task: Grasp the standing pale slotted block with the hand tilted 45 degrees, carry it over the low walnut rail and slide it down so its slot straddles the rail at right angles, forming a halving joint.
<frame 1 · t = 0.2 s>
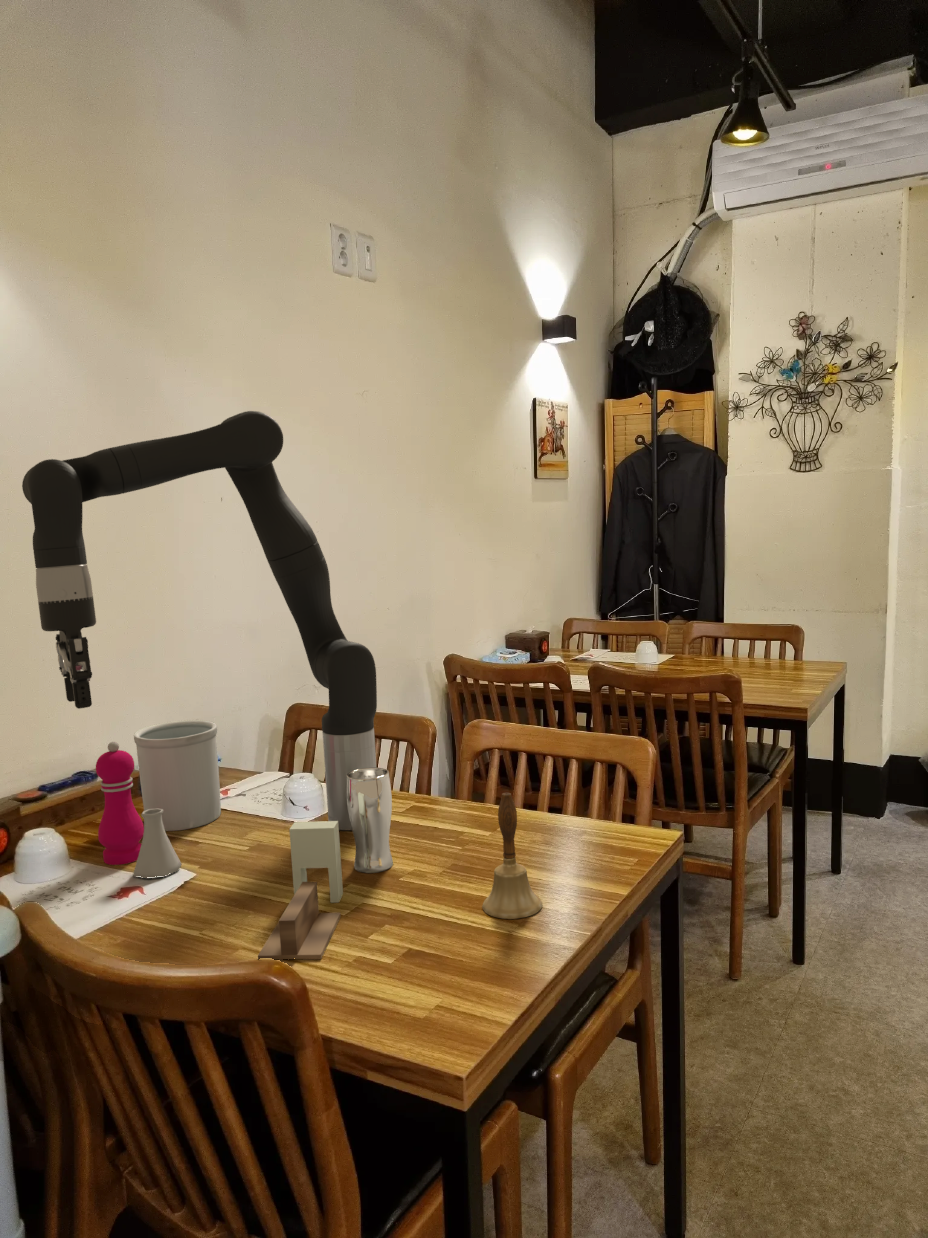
hand: (79, 704, 134), 29 cm above the table, tool pointing down, fingers open, 8 cm apart
pepper mill: (123, 859, 150), on the table
beer glass: (373, 867, 141), on the table
pale slotted block: (319, 898, 129), on the table
utensil holder: (183, 820, 169), on the table
walnut rail: (301, 937, 117), on the table
flask: (157, 873, 143), on the table
hand bell: (512, 908, 123), on the table
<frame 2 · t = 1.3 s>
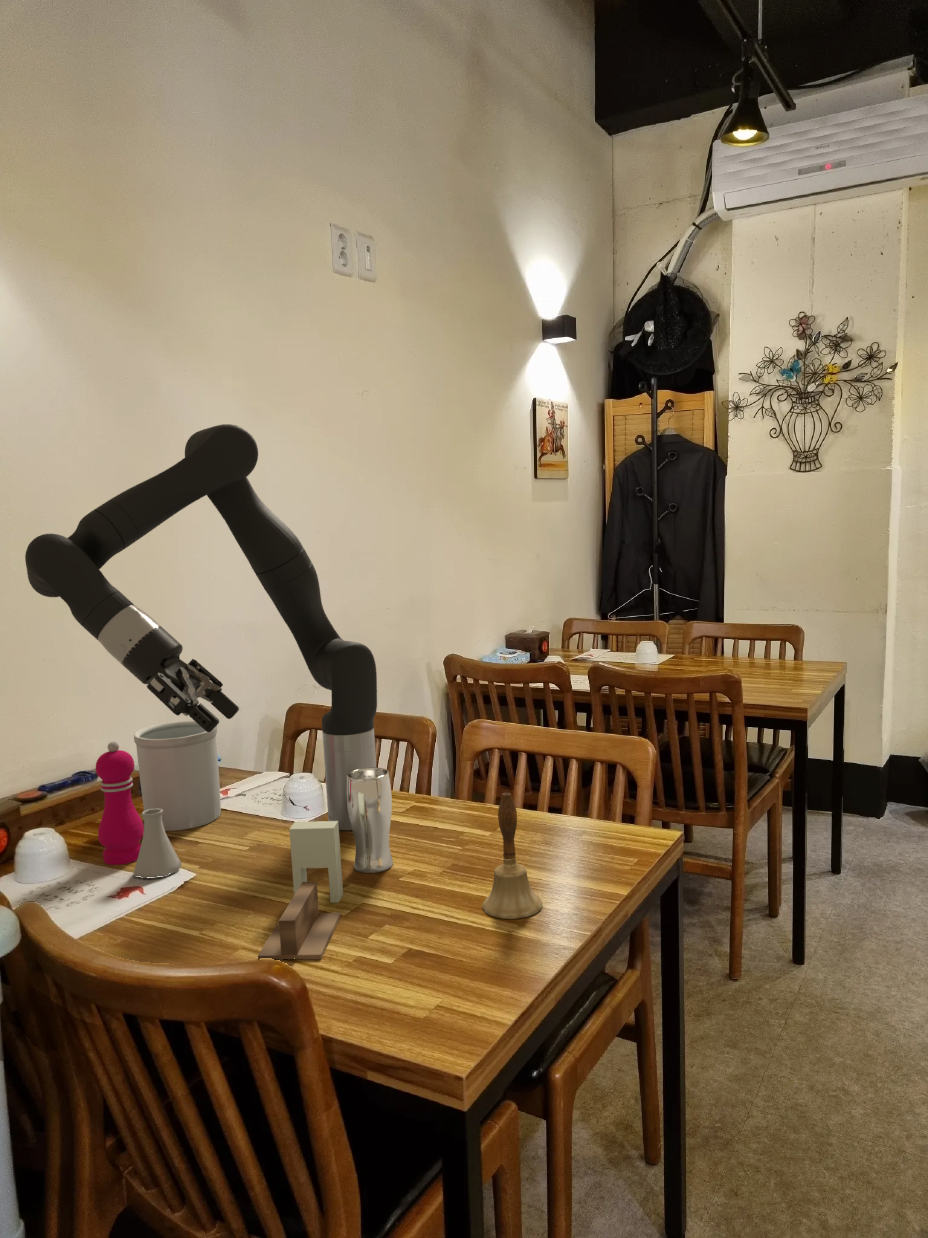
hand: (225, 720, 127), 27 cm above the table, tool tilted 45°, fingers open, 8 cm apart
nothing on the table moved.
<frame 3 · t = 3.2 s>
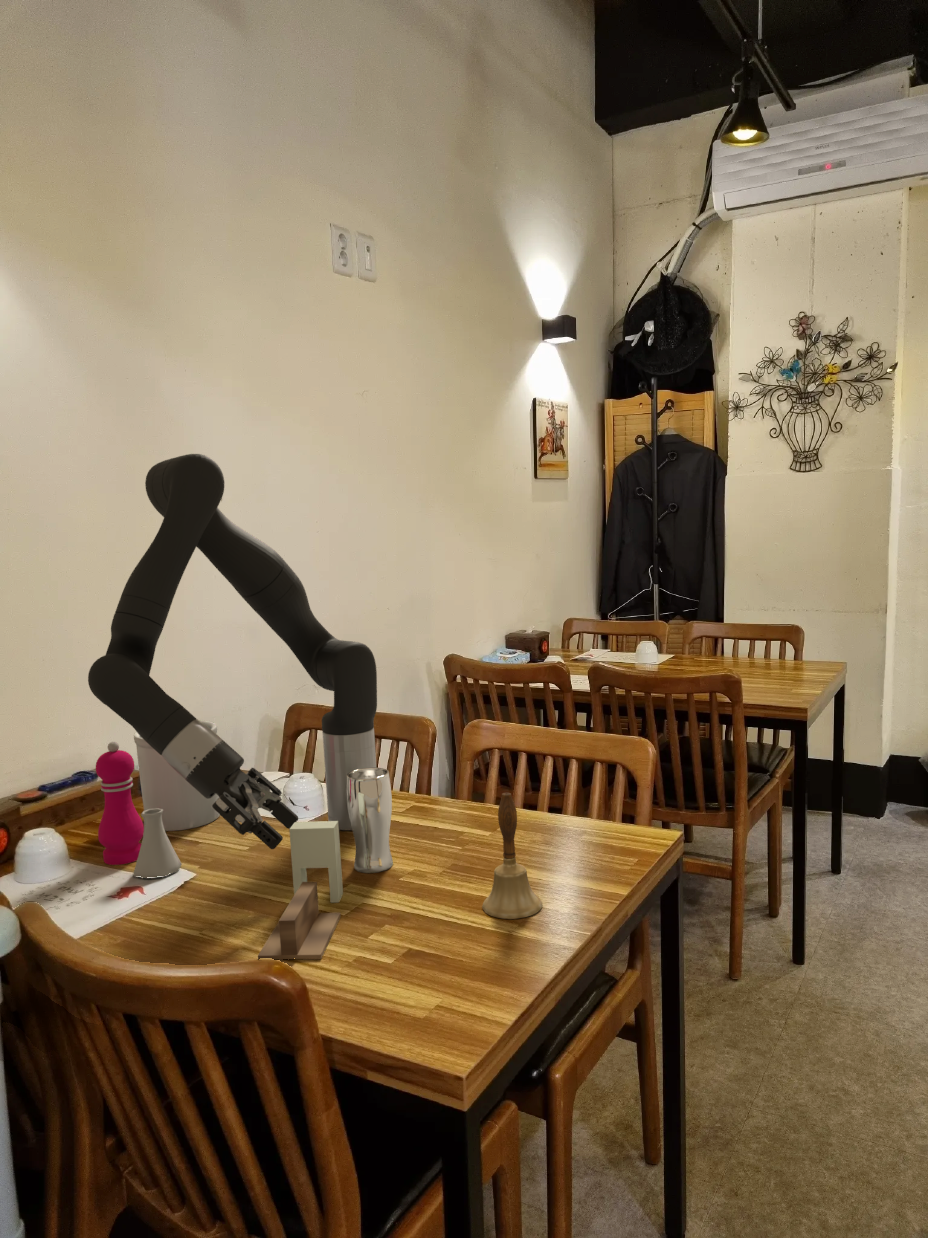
hand: (286, 833, 128), 10 cm above the table, tool tilted 45°, fingers open, 8 cm apart
nothing on the table moved.
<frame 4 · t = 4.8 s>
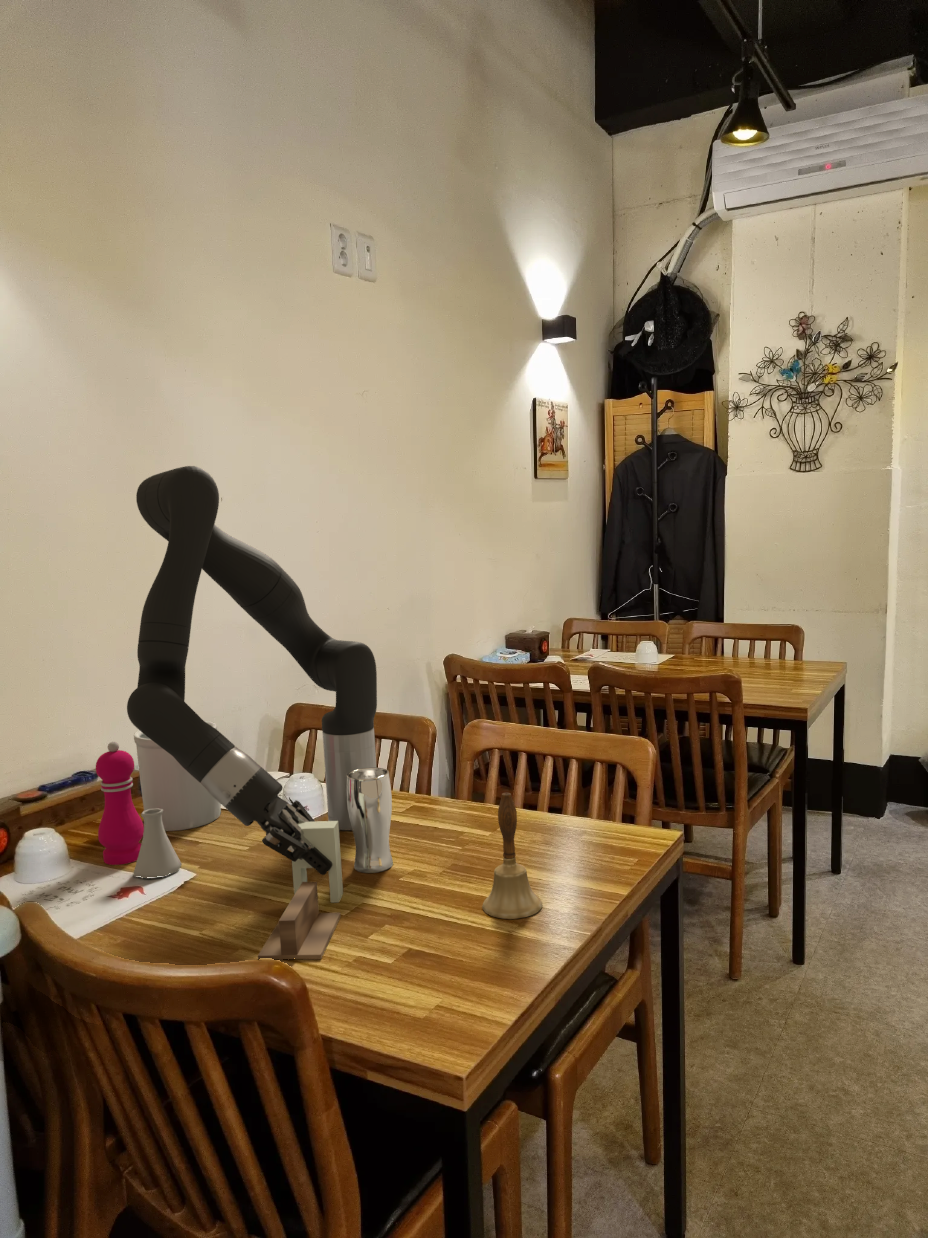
hand: (330, 865, 129), 5 cm above the table, tool tilted 45°, fingers closed on pale slotted block, 3 cm apart
pale slotted block: (319, 898, 129), on the table, touching gripper
everything else where it was.
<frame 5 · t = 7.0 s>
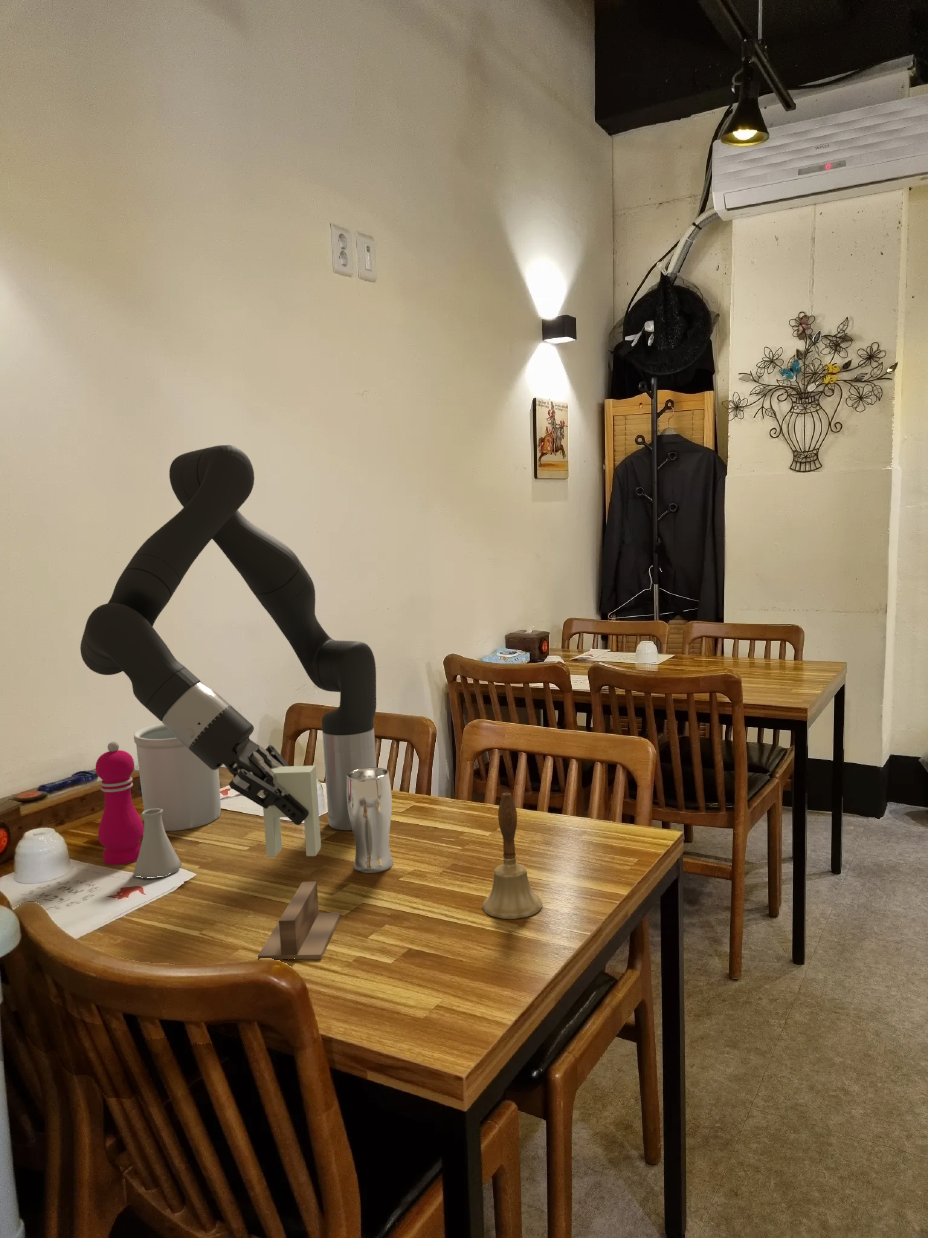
hand: (307, 814, 115), 17 cm above the table, tool tilted 45°, fingers closed on pale slotted block, 3 cm apart
pale slotted block: (294, 852, 116), point 12 cm above the table, touching gripper
everything else where it was.
when the fingers open (6 cm above the table, at t = 9.5 s): pale slotted block stays where it is, resting on walnut rail.
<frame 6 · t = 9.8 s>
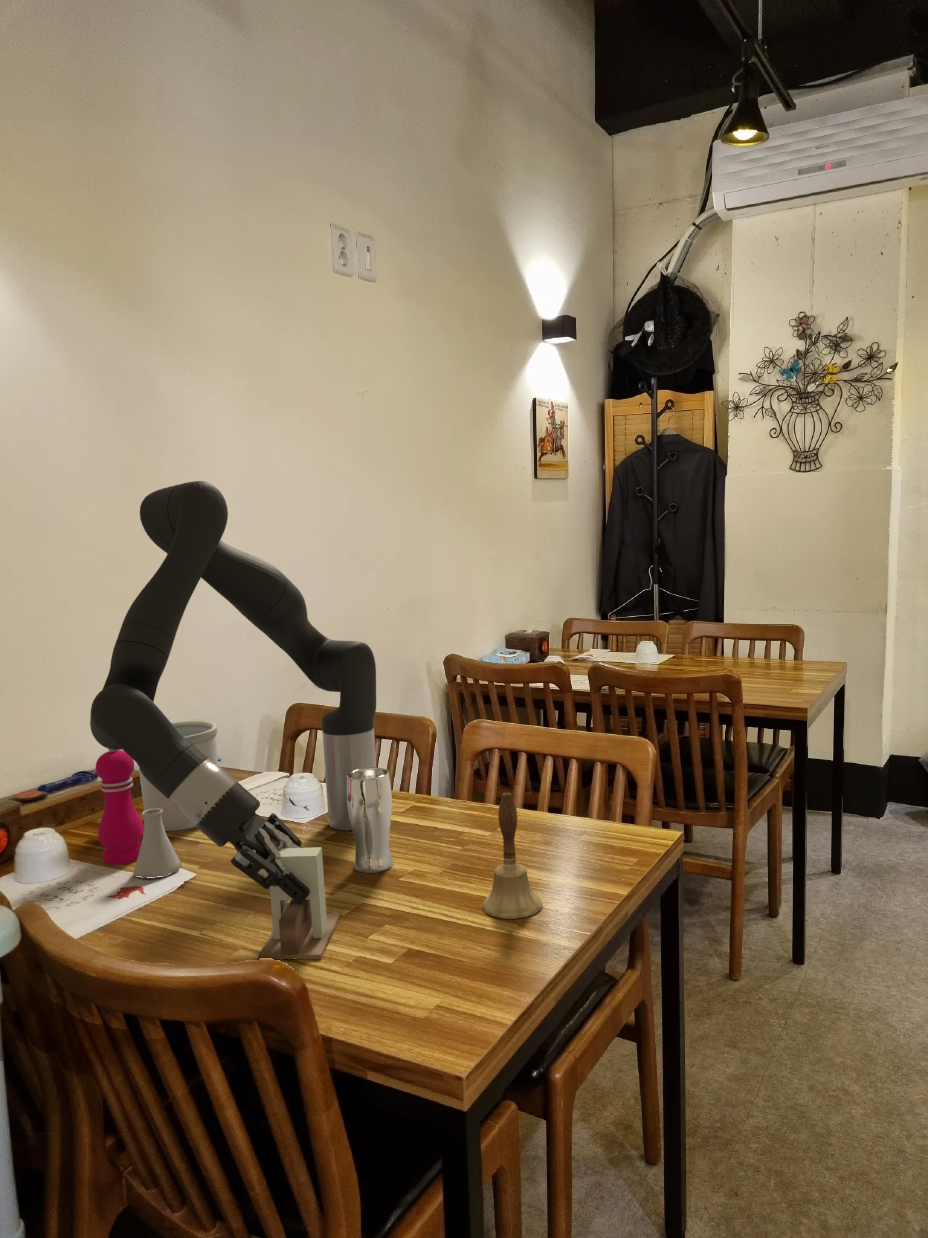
hand: (311, 888, 116), 7 cm above the table, tool tilted 45°, fingers open, 5 cm apart
pale slotted block: (300, 933, 117), point 1 cm above the table, touching walnut rail
everything else where it was.
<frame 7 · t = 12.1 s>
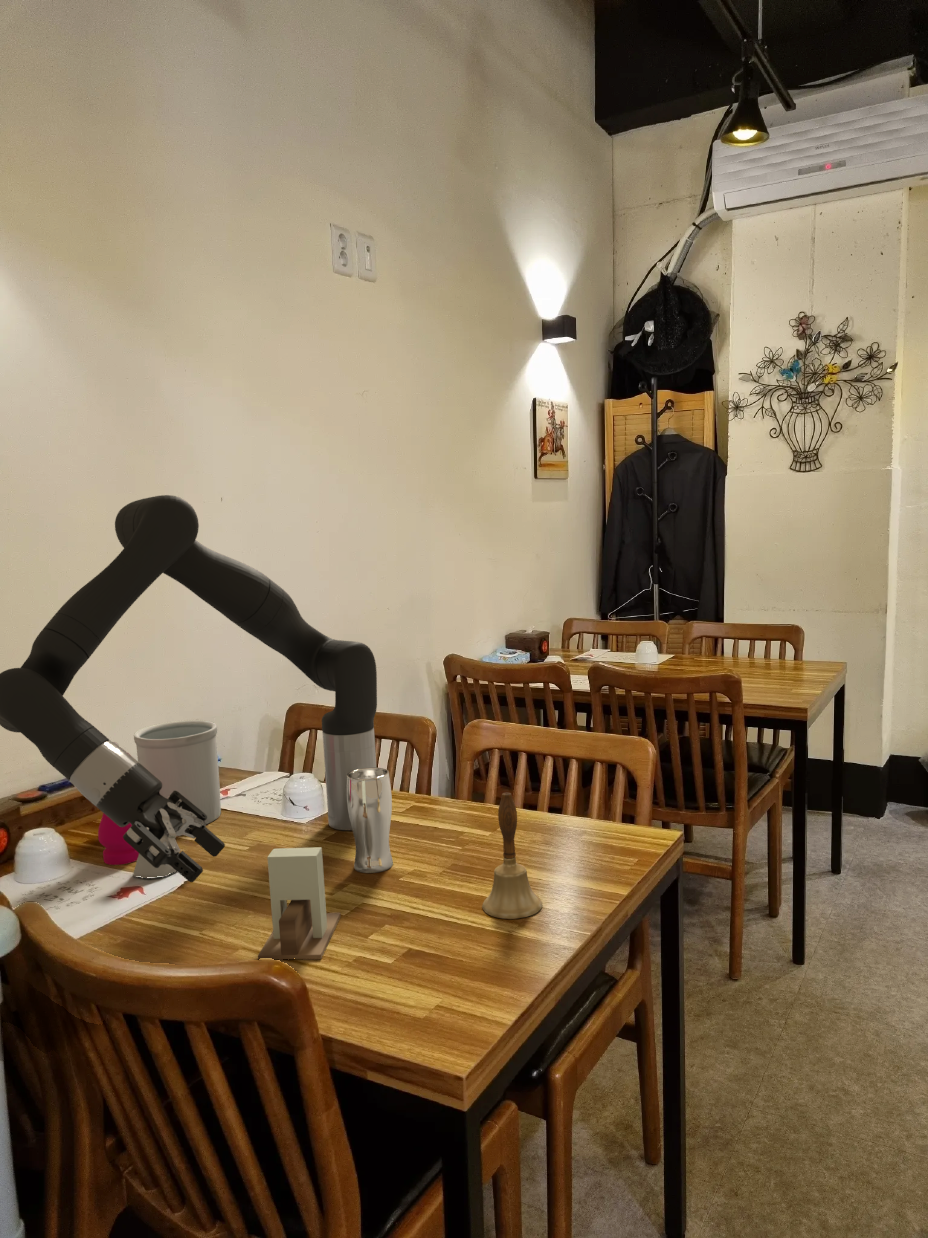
hand: (209, 863, 118), 10 cm above the table, tool tilted 45°, fingers open, 8 cm apart
nothing on the table moved.
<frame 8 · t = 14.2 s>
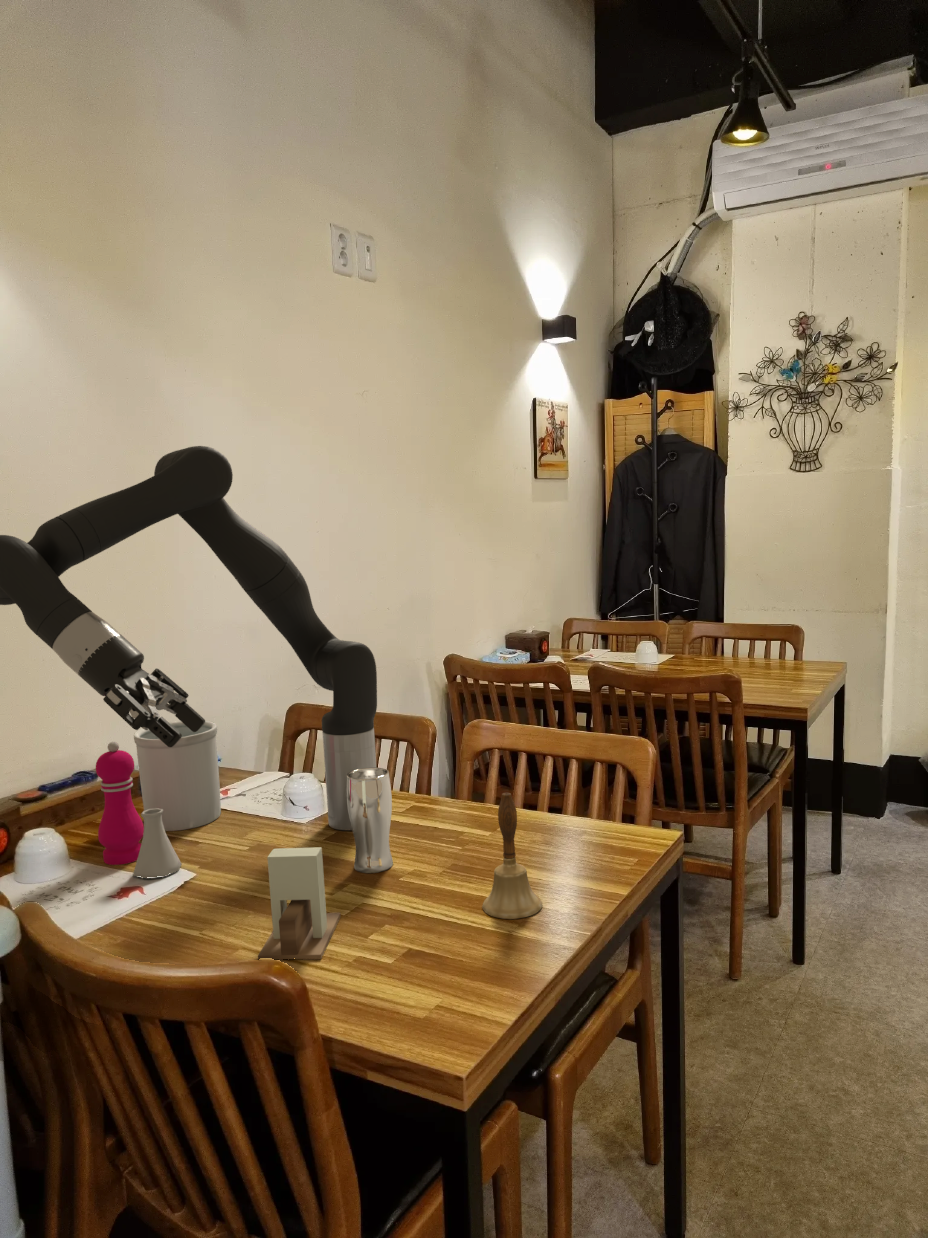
hand: (189, 734, 120), 27 cm above the table, tool tilted 45°, fingers open, 8 cm apart
nothing on the table moved.
at the end: pale slotted block 0.0 cm off-centre on the walnut rail, point 0.6 cm above the walnut rail's base; pale slotted block tilted 0°; the gripper is holding nothing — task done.
